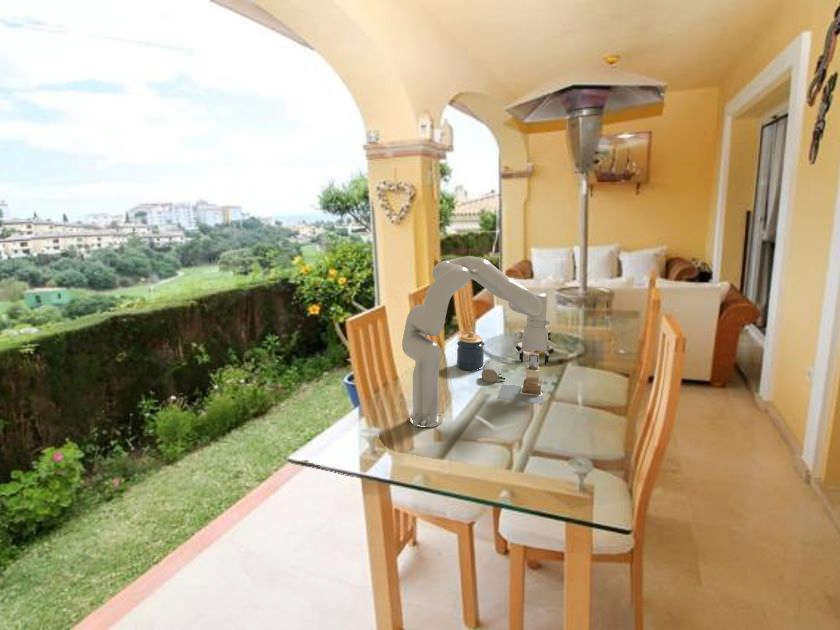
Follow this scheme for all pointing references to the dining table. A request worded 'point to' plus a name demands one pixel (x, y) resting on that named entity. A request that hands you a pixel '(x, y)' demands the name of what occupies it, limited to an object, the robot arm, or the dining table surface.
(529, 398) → the slate board
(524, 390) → the walnut block
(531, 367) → the grey block
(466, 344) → the canister
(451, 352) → the dining table surface
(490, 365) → the ceramic mug
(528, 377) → the beech block
